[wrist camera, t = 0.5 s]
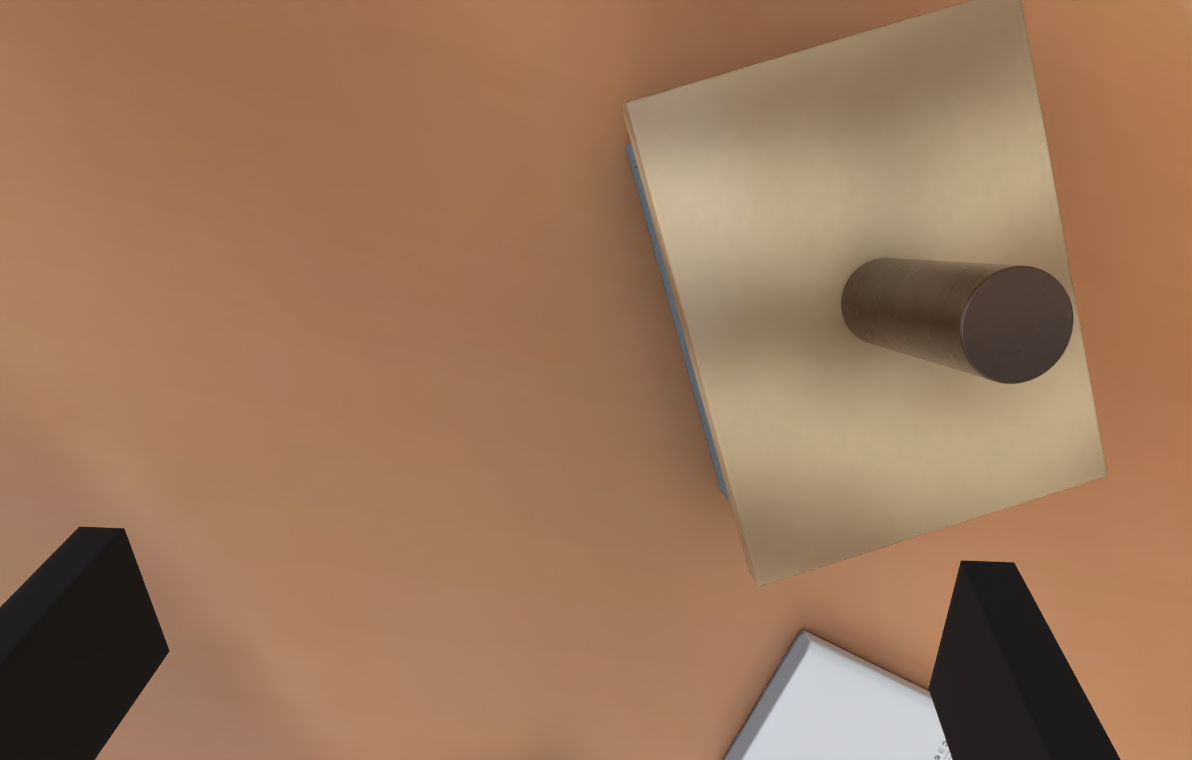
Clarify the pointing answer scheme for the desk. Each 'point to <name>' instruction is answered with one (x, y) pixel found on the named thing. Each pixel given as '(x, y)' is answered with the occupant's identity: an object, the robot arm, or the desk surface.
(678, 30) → the desk surface
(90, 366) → the desk surface
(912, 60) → the tan piece
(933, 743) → the hard drive
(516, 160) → the desk surface
